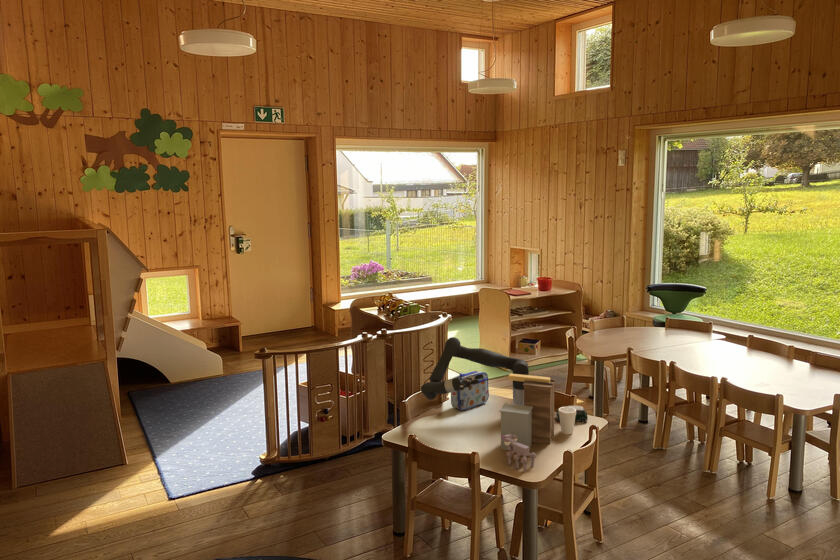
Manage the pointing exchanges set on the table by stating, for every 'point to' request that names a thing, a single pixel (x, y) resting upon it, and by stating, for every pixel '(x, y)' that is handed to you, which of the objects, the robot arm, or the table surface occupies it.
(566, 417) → the foam cup
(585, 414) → the miniature car
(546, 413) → the cabinet
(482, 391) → the lunch box
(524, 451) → the toy sheep
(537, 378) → the slat
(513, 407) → the grey upright carton
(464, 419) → the table surface
